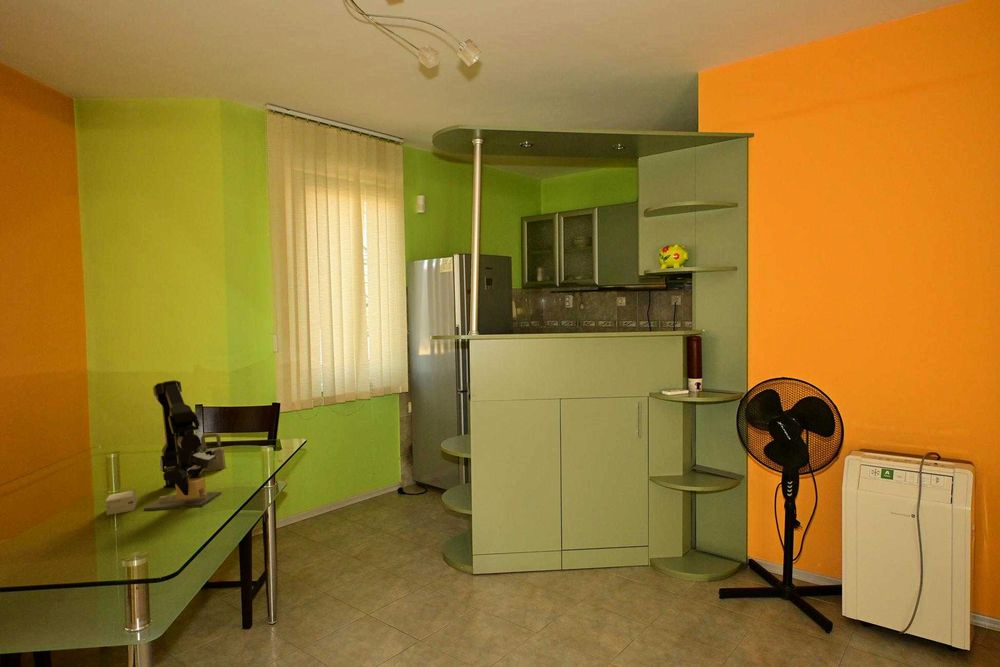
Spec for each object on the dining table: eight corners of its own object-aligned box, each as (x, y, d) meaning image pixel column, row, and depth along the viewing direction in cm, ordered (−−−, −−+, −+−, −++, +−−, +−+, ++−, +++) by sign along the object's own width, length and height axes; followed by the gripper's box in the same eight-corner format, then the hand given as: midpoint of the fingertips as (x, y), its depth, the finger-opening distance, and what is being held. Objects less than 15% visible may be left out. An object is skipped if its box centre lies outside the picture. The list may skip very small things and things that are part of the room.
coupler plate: (143, 510, 190) (142, 503, 189) (165, 498, 202) (165, 491, 201) (202, 506, 189) (201, 499, 189) (221, 493, 201) (220, 487, 201)
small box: (106, 516, 188) (104, 500, 188) (111, 509, 195) (109, 494, 195) (134, 510, 191) (132, 495, 191) (138, 503, 198) (136, 489, 198)
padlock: (223, 469, 234) (218, 433, 233) (202, 472, 233) (197, 435, 232) (226, 466, 238) (222, 431, 237) (205, 469, 237) (201, 433, 236)
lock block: (177, 499, 192) (175, 484, 192) (186, 493, 198) (184, 479, 197) (197, 497, 192) (195, 482, 192) (206, 492, 197) (204, 477, 197)
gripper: (193, 452, 184) (199, 500, 185) (223, 438, 203) (228, 481, 204) (159, 455, 185) (165, 502, 186) (192, 440, 203) (197, 484, 204)
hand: (191, 492), depth 195 cm, fingers closed on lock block, 5 cm apart
